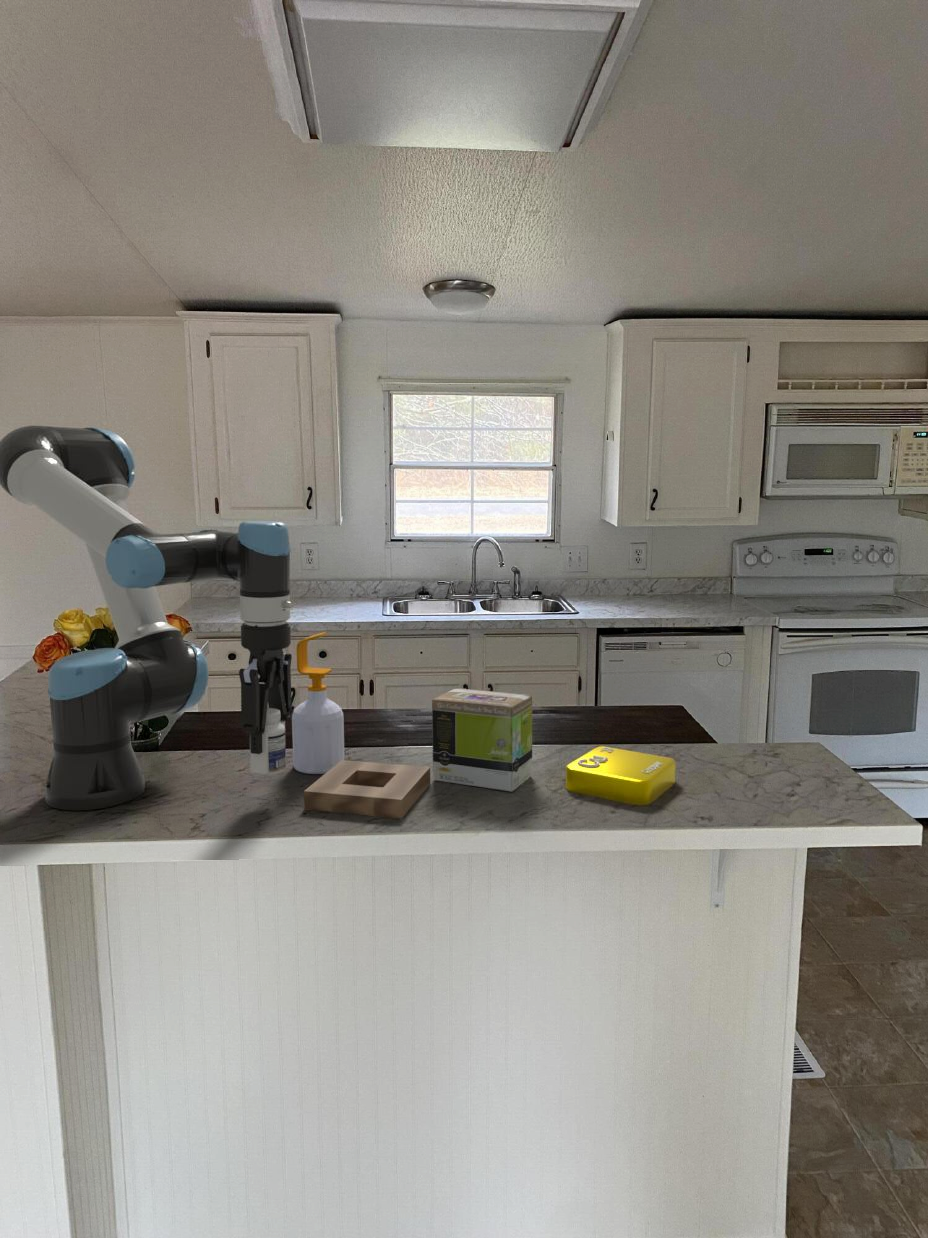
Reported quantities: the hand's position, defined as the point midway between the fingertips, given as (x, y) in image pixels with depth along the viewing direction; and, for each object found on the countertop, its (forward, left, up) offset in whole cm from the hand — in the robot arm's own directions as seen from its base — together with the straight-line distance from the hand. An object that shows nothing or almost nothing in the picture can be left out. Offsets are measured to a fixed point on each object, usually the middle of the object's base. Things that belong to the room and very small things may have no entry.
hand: (268, 765), depth 140 cm
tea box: (+31, +20, -7) cm, 37 cm away
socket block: (+15, +7, -6) cm, 17 cm away
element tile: (+54, +22, -7) cm, 59 cm away
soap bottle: (+1, +19, -7) cm, 20 cm away
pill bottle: (0, 0, -1) cm, 1 cm away
